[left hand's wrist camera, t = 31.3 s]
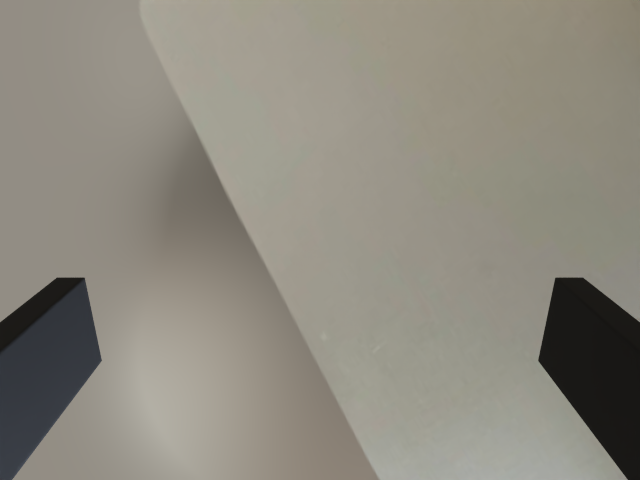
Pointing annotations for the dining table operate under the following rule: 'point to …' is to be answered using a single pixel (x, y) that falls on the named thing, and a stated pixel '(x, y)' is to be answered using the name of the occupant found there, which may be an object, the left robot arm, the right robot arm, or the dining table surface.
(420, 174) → the dining table surface
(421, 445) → the dining table surface
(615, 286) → the dining table surface
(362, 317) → the dining table surface
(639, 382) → the left robot arm
